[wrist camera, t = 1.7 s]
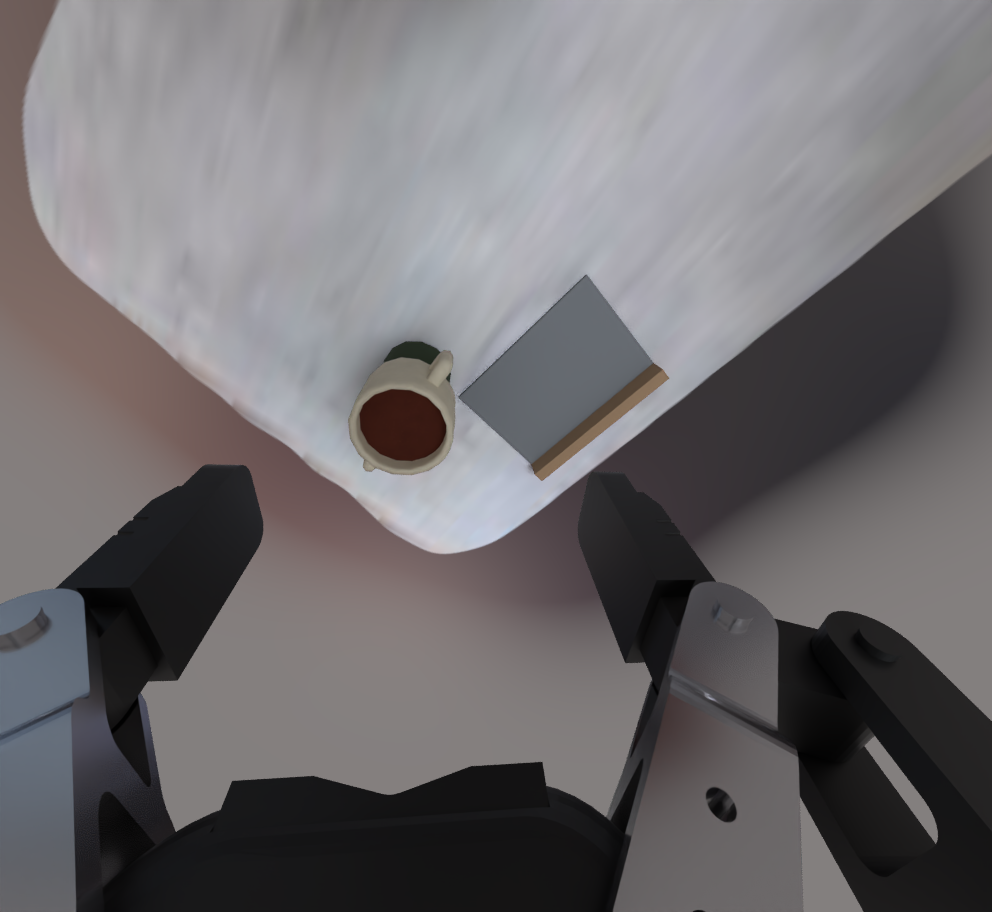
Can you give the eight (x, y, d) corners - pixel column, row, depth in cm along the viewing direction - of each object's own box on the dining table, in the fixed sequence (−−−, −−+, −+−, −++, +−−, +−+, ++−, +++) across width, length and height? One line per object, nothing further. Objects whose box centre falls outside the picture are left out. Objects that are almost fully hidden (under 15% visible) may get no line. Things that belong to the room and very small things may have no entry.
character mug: (416, 433, 42) (402, 510, 31) (354, 393, 39) (313, 461, 28) (482, 350, 38) (493, 402, 27) (418, 300, 36) (401, 334, 24)
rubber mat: (459, 396, 40) (459, 406, 38) (586, 274, 36) (594, 277, 34) (538, 469, 45) (542, 481, 43) (658, 370, 41) (669, 378, 39)
